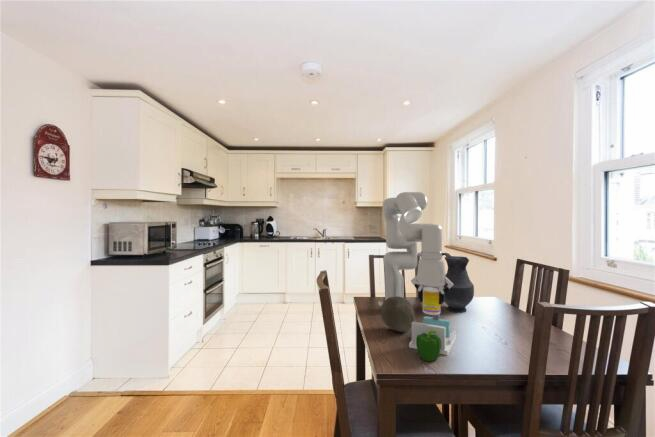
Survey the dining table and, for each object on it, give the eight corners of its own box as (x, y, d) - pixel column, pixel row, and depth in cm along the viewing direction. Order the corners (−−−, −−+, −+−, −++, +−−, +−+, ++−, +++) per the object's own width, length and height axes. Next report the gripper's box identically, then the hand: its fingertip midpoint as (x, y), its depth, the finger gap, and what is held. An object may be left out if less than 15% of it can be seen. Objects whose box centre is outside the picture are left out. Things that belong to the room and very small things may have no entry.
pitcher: (459, 316, 161) (459, 256, 161) (427, 306, 179) (427, 252, 179) (481, 311, 170) (481, 254, 170) (448, 302, 188) (449, 251, 188)
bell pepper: (414, 361, 112) (414, 332, 111) (417, 352, 119) (417, 325, 119) (440, 365, 108) (440, 336, 108) (442, 356, 116) (442, 328, 116)
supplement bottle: (441, 316, 121) (441, 281, 121) (423, 315, 122) (423, 281, 122) (439, 311, 128) (439, 278, 128) (421, 310, 129) (421, 277, 129)
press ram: (423, 332, 134) (423, 294, 134) (425, 330, 137) (425, 293, 137) (448, 337, 129) (448, 297, 129) (449, 334, 132) (450, 296, 132)
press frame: (408, 347, 123) (409, 322, 123) (422, 331, 141) (422, 309, 141) (447, 355, 116) (447, 329, 116) (456, 337, 133) (456, 314, 133)
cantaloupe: (406, 325, 149) (406, 292, 149) (419, 336, 135) (419, 300, 135) (376, 326, 147) (376, 293, 147) (387, 338, 133) (387, 301, 133)
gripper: (406, 256, 126) (406, 301, 126) (453, 258, 117) (453, 307, 117) (412, 254, 133) (412, 297, 133) (456, 256, 124) (457, 303, 124)
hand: (431, 302), depth 125 cm, fingers closed on supplement bottle, 6 cm apart
